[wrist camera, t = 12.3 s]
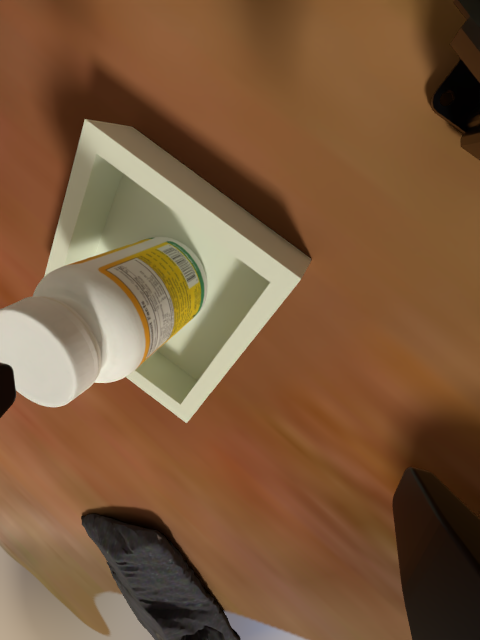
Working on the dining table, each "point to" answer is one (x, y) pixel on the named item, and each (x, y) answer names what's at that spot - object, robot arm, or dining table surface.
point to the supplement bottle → (100, 318)
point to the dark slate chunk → (158, 582)
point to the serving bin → (191, 230)
